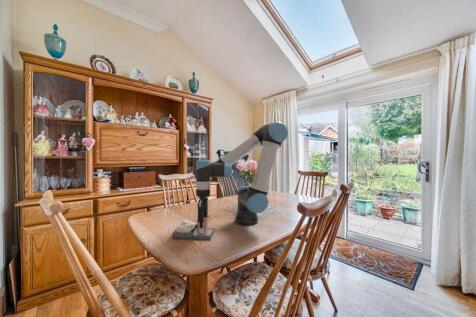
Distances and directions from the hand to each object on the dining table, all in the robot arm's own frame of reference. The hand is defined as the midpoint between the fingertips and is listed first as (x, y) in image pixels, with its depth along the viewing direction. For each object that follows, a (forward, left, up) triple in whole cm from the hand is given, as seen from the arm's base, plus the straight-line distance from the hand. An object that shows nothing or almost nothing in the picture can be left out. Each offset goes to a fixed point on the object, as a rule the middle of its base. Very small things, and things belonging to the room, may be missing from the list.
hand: (202, 231), depth 109 cm
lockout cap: (0, 0, 0) cm, 0 cm away
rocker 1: (+9, +4, +1) cm, 10 cm away
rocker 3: (+9, 0, +1) cm, 9 cm away
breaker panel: (+5, 0, -2) cm, 5 cm away
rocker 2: (+9, -4, +1) cm, 10 cm away
